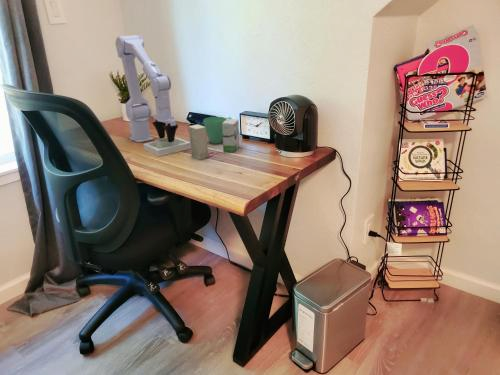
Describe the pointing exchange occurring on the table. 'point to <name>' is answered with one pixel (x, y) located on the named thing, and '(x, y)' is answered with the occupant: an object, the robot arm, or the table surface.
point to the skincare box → (198, 141)
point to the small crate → (165, 143)
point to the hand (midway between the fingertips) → (166, 139)
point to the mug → (214, 128)
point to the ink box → (230, 135)
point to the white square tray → (159, 152)
